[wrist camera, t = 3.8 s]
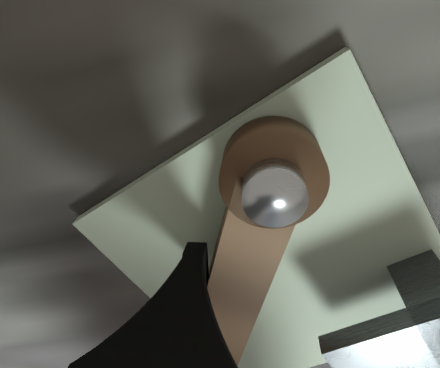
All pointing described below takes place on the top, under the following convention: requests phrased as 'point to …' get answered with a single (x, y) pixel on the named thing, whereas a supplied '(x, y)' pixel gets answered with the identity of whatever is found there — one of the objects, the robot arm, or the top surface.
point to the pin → (274, 193)
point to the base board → (303, 232)
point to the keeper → (395, 324)
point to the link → (252, 232)
